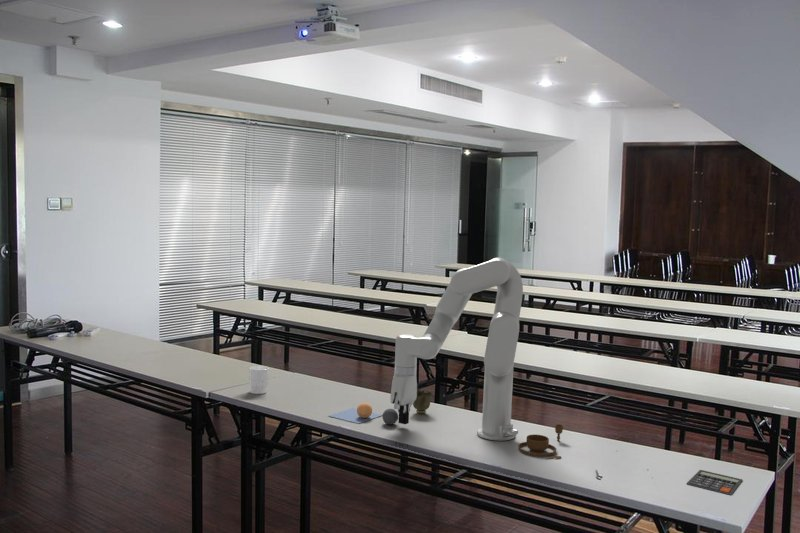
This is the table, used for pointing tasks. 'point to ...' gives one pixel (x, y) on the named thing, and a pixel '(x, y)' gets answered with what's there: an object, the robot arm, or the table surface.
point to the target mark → (353, 416)
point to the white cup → (258, 379)
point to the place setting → (541, 444)
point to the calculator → (714, 482)
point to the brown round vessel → (422, 401)
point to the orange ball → (364, 410)
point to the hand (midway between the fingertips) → (403, 423)
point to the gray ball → (390, 416)
